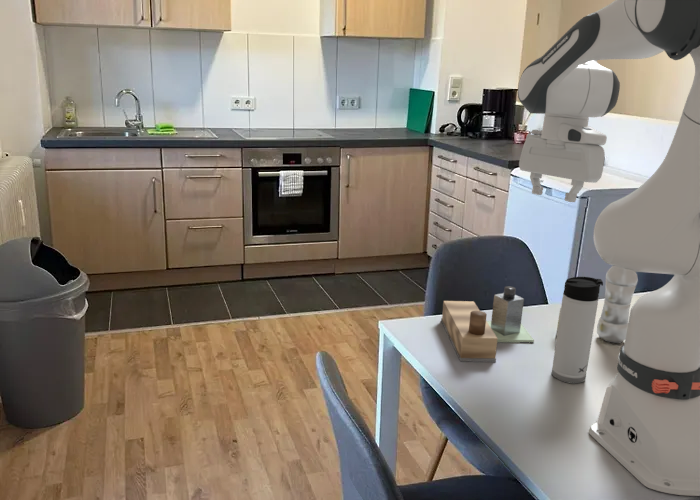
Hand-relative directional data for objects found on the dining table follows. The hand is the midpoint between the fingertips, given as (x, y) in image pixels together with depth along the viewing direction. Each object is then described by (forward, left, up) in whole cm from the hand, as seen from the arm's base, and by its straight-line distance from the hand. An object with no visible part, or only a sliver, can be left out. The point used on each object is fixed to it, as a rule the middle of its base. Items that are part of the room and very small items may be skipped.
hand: (552, 198), depth 135 cm
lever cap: (-2, +8, -30) cm, 31 cm away
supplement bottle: (-3, -6, -31) cm, 31 cm away
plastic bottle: (-5, -15, -31) cm, 35 cm away
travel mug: (-22, +1, -31) cm, 38 cm away
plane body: (-6, +17, -30) cm, 35 cm away
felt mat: (-2, +8, -30) cm, 31 cm away
